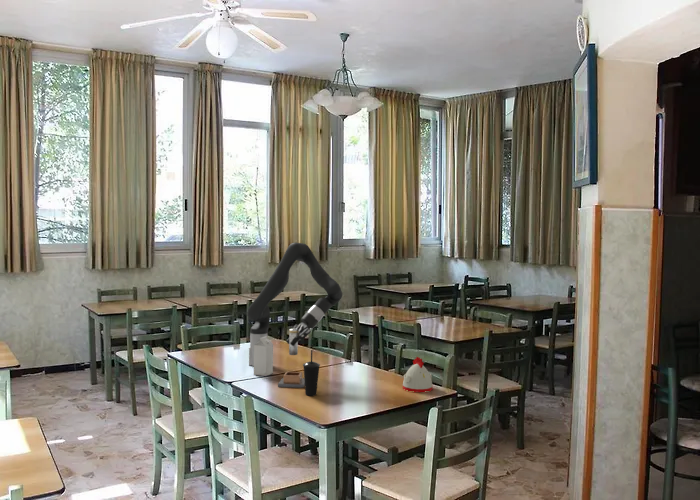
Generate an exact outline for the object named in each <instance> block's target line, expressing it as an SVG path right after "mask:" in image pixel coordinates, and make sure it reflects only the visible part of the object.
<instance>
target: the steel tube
mask: <svg viewBox="0 0 700 500" xmlns="http://www.w3.org/2000/svg"><path fill="white" fill-rule="evenodd" d="M297 332H298V329H293V328H289V329H288V333H289V335H288V336H289V337H288V338H289V344H288V350H289V351H288V355H289V356H297V355H298V352H299V351H298V350H299V349H298V348H299V347H298V346H299V344H298V343H299V341H298V342H297V343H296V344H295V345H294V346H292V345H291V344H290V342H291V341H292V340H293V339H294V338H295V337H296V335H297V334H298V333H297Z"/></svg>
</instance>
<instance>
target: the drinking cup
mask: <svg viewBox="0 0 700 500" xmlns="http://www.w3.org/2000/svg"><path fill="white" fill-rule="evenodd" d="M302 366H303V377H304V380H305V386H304V393H305V394H304V395H305V396H307V397H314V396H317V393H318V390H317V389H318V383H319V372H320V367H321V364H320V363H318V362H316V361H313V350H312V349H311V350H310V361H307V362H305V363H303V364H302Z"/></svg>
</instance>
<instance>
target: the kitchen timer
mask: <svg viewBox="0 0 700 500" xmlns="http://www.w3.org/2000/svg"><path fill="white" fill-rule="evenodd" d="M412 363H413V364H412V365H411V366H410V367H409V368H408V369H407V371H406V373H405V374H404V375H403V382H402V390H404V389H405V390H404V391H406V390H408V391H407V392H409V391H414V392H413V393H415V392H425V391H430V392H431V390H432V391H433V382H432V380H433V376H432V373H429V371H428V369H427V368H426V367H425V366H424V361H423V358H421V357H419V356H416V358H414V360H412ZM425 393H426V392H425Z"/></svg>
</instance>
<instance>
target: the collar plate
mask: <svg viewBox="0 0 700 500" xmlns="http://www.w3.org/2000/svg"><path fill="white" fill-rule="evenodd" d="M277 388H295V389H296V388H297V389H305V380H304V378H303V372H301V371H300V372H299V371H285V373H284V374H283V377H282V378H280V380H279V382H278V384H277Z"/></svg>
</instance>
